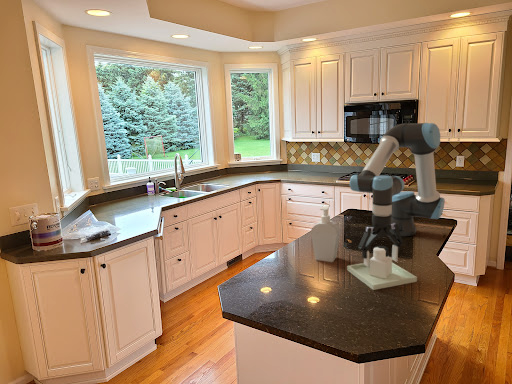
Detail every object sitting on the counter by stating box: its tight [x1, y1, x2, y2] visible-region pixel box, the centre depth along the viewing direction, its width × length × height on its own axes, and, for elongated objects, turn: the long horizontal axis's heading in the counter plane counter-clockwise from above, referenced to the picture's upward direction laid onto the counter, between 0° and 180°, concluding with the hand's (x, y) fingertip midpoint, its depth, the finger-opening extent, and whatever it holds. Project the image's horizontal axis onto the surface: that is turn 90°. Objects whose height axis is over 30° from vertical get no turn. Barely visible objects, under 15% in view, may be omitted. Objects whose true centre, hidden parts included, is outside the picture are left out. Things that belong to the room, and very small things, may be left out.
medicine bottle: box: [369, 245, 393, 279], centre depth 151 cm, size 7×7×12 cm
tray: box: [346, 262, 418, 291], centre depth 152 cm, size 20×20×2 cm
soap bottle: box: [310, 204, 342, 263], centre depth 171 cm, size 12×10×26 cm
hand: (380, 262), depth 151 cm, fingers open, 13 cm apart
